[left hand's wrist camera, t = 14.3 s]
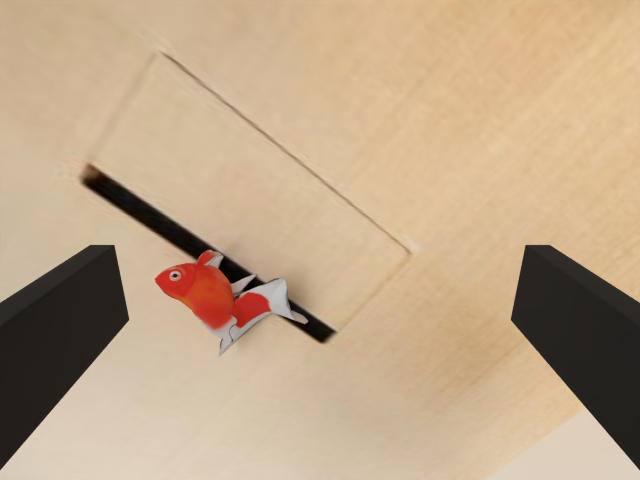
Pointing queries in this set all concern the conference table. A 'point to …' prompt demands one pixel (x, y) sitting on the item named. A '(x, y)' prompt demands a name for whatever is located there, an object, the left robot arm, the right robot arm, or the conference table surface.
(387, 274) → the conference table surface
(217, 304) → the fish
